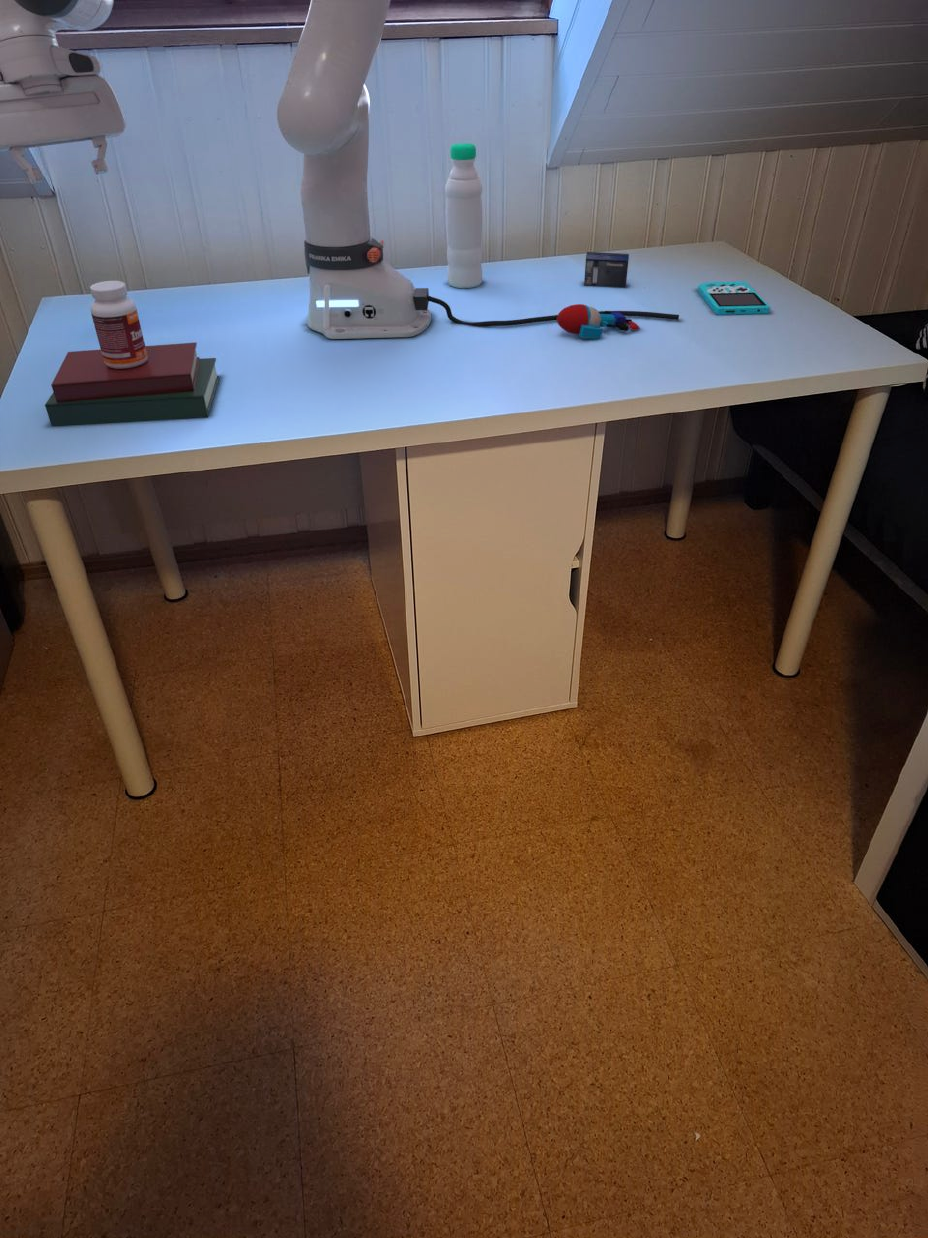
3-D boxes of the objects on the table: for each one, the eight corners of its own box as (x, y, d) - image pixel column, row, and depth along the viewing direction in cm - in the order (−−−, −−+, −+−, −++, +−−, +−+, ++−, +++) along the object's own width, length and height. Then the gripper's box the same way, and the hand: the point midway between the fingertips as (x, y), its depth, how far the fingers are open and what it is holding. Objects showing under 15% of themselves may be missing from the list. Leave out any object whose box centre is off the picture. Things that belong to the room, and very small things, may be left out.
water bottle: (483, 278, 177) (483, 140, 162) (480, 289, 172) (480, 147, 157) (449, 278, 178) (446, 140, 163) (445, 288, 172) (441, 147, 157)
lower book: (219, 377, 137) (215, 357, 135) (207, 416, 126) (203, 395, 124) (77, 385, 136) (71, 365, 134) (51, 425, 124) (44, 404, 122)
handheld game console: (745, 286, 171) (747, 279, 170) (771, 313, 158) (772, 306, 157) (695, 288, 170) (696, 280, 170) (716, 314, 158) (717, 307, 157)
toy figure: (618, 327, 158) (546, 324, 152) (626, 300, 155) (552, 296, 149) (639, 344, 152) (564, 341, 147) (647, 316, 149) (571, 312, 144)
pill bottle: (147, 367, 125) (128, 290, 119) (103, 372, 124) (81, 293, 118) (150, 352, 130) (132, 277, 124) (107, 356, 129) (86, 280, 123)
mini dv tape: (584, 285, 173) (586, 253, 169) (584, 283, 174) (587, 251, 170) (625, 287, 171) (628, 255, 168) (626, 285, 173) (629, 253, 169)
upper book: (199, 358, 135) (196, 342, 134) (194, 391, 125) (190, 373, 123) (72, 368, 133) (67, 351, 131) (56, 402, 123) (51, 384, 121)
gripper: (-44, 69, 114) (-1, 185, 119) (109, 56, 123) (142, 164, 129) (-50, 81, 118) (-8, 192, 124) (97, 68, 128) (130, 171, 134)
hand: (70, 177), depth 127 cm, fingers open, 8 cm apart
